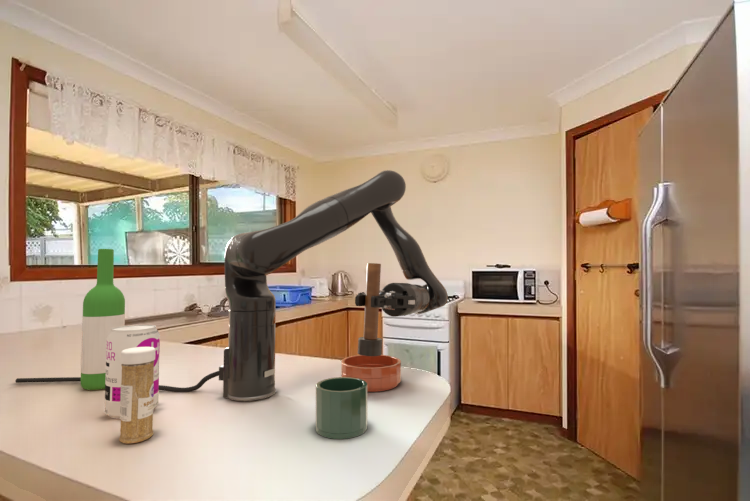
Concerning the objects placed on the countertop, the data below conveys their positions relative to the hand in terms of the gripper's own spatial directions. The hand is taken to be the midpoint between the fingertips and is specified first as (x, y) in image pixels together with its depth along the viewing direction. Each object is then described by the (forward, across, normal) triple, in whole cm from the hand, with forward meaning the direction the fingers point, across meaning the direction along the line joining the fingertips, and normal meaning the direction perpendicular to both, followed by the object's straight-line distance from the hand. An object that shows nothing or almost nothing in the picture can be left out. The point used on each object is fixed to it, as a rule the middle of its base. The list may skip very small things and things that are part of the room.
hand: (365, 301), depth 77 cm
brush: (-3, 0, +10) cm, 11 cm away
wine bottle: (+17, -55, +22) cm, 62 cm away
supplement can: (+23, -34, +22) cm, 46 cm away
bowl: (-12, -4, +19) cm, 23 cm away
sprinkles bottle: (+30, -22, +22) cm, 43 cm away
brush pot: (+12, +4, +20) cm, 23 cm away
